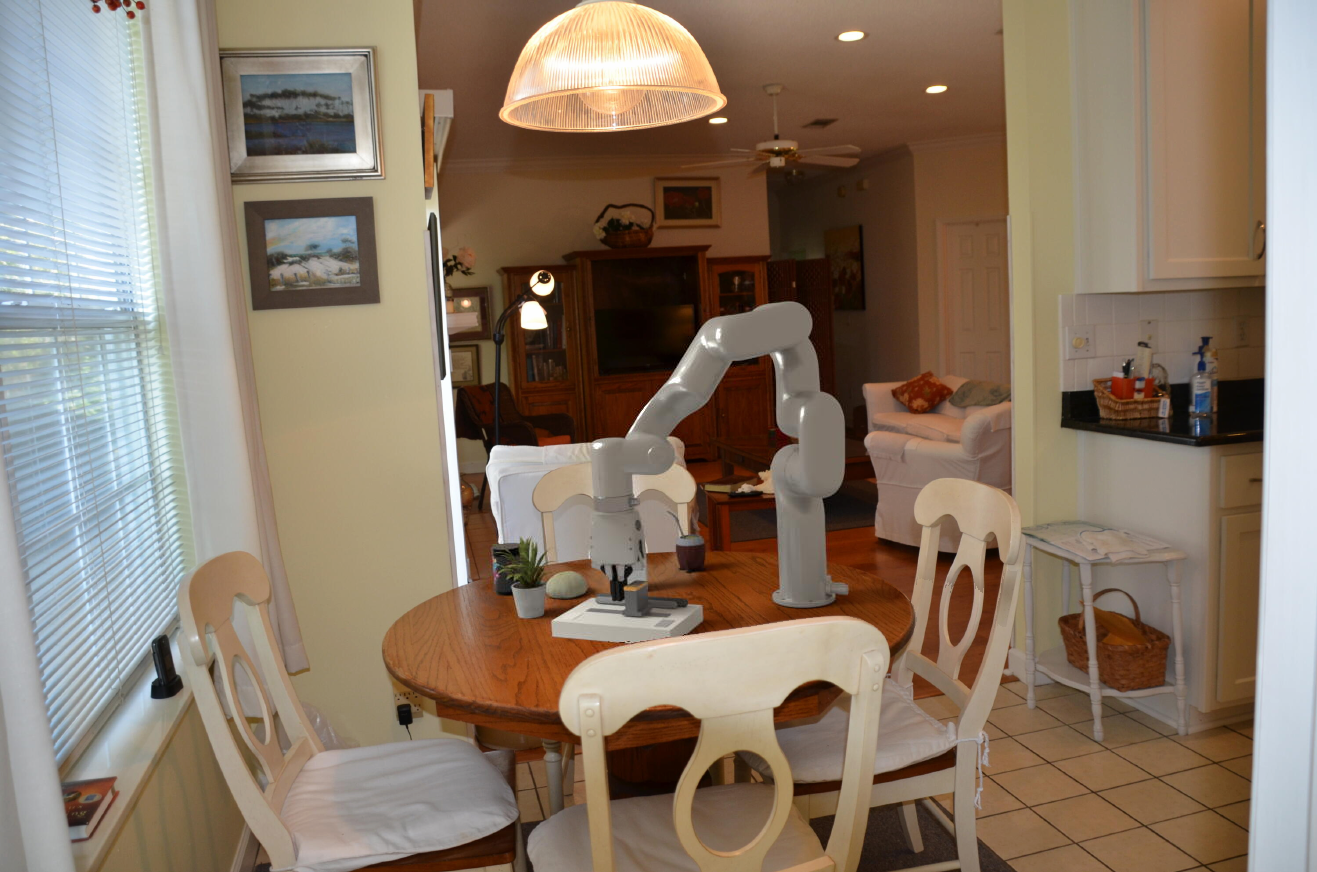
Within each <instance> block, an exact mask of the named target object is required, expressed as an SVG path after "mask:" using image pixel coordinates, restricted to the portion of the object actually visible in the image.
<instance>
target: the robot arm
mask: <svg viewBox="0 0 1317 872" xmlns="http://www.w3.org/2000/svg"><path fill="white" fill-rule="evenodd" d="M812 329H813V318H812V315H811V313H810V311H809V310H808V309H807V308H806V307H805V306H804V305H803V304H801V303H799V302H795V301H781V302H773V303H767V304H766V303H765V304H762V305H759V306H757V307H756V308H754V309H753V310H751V311H746V312H742V313H737V314H730V315H729V314H728V315H723V316H715V317H713V318H710V319H708V320H707V321H706V322H705V323H704V324H703V325H702V326H701V328H700V329H699V330H698V332H697V334H696V335H695V337H694V339H693V340H692V342H691V343H690V345H689V347H688V348H687V350H686V352H685V353H684V355H683V357H681V359H680V361H679V363H678V364H677V366H676V368H675V369H674V371H673V373H672V374H671V376H670V377H669V379H668V380H667V381H666V382H665V383H664V384H663V386H661V388H659V390H658V391H657V392H656V393H655V395H654V396H653V397H651V399H650V400H649V402H648V403H647V404H646V405H645V406H644V407H643V409H642V410H641V411H640V413H639V414H638V416H637V417H636V419H635V421H634V422H633V424H632V426H631V427H630V428H629V431H628V432H627V434H626V435H625V437H605V438H600V439H596V440H593V441H592V443H590V448H589V449H590V452H589V453H590V464H591V465H590V466H591V479H592V483H591V484H592V496H593V511H591V514H590V520H589V530H588V531H589V532H588V550H589V558H590V560H591V563H590V564H591V566H590V567H591V568H593V569H596V570H599V571H601V572H602V573H603V574H604V575H605V576H606V580H607V581H609V588H610V591H609V594H611V595H612V601H618V602H621V601H623V600H624V599H625V594H624V587H625V586H627V585H628V580H627V578H628V577H629V576H630V575H631V574H632V572H636V571H640V570H642V569H644V567H645V566H644V562H643V559H645V557H646V558H647V547H646V537H645V538H644V535H645V530H644V531H643V526H642V522H643V521H642V518H641V515H640V511H639V509H635V508H636V506H641V505H640V504H641V500H640V498H636V497H635V493H634V483H633V476H634V475H635V476H636V475H637V476H638V475H639V476H640V475H641V476H657V475H658V476H659V475H663V474H664V473H666V472H668V471H669V470H670V469H671V468H672V467H673V465H674V463H675V460H676V452H675V447H674V446H673V444H672V443H671V441H670V440H668V437H669V436H670V434H671V433H672V432H673V430H675V428H676V427H677V425H678V424H679V423H681V421H682V420H684V419H685V418H686V417H688V416H689V415H691V414H693V413H694V412H697V411H698V410H699V409H701V408H702V407H703V406H705V404H707V403H708V402H709V400H710V398H711V397H712V395H713V394H714V393H715V390H716V388H717V386H718V385H719V384H720V382H721V380H722V379H723V377H724V376H725V374H726V372H727V371H728V370H729V368H730V365H731V364H732V362H733V361H734V362H735V361H736V362H737V361H745V360H749V359H752V358H753V359H754V358H757V357H761V356H765V355H770V358H771V359H772V361H773V364H774V369H775V370H774V371H775V381H776V383H775V384H776V386H775V388H776V399H775V400H776V404H775V405H776V407H775V411H776V413H775V414H776V424H777V426H778V429H779V430H780V432H782V433H783V434H785V435H787V436H788V437H792V438H795V439H798V443H792V444H788V445H785V446H783V447H782V448H781V449H779V450H778V451H777V452H776V453H775V455H774V456H773V459H772V462H771V465H770V478H771V483H772V488H773V493H774V498H775V508H776V523H777V524H776V527H777V529H776V530H777V551H778V554H777V555H778V573H779V574H778V575H779V589H777V590H775V591H774V592H773V593H772V601H773V602H774V603H776V604H778V605H779V606H784V607H789V608H801V609H802V608H816V607H822V606H826V605H830V604H831V603H832V604H833V603H834V601H835V600H836V595H837V594H838V595H841V596H843V595H844V596H845V595H846V596H848V594H849V591H850V589H849V585H848V584H846V583H845V582H834V581H833V580H832V575H829V574H828V571H827V547H826V545H827V543H826V540H827V539H826V515H825V506H824V502H823V501H824V500H823V499H825V498H828V497H831V496H832V495H834V494H836V492H837V491H838V490H839V488H841V486H842V484H843V480H844V477H845V468H846V467H845V466H846V438H845V437H846V429H845V428H846V426H845V425H846V423H845V422H846V421H845V415H844V412H843V409H842V407H841V404H840V403H839V401H838V400H837V399H836V398H835V397H834V396H833V395H831V394H829V393H828V392H824V391H821V385H820V384H821V382H820V369H819V361H818V356H817V353H816V350H815V347H814V345H813V343H812V341H811V340H810V339H809V337H810V334H811V332H812Z"/></svg>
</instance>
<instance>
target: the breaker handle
mask: <svg viewBox="0 0 1317 872" xmlns="http://www.w3.org/2000/svg"><path fill="white" fill-rule="evenodd" d="M624 594H625V609H624V610H622V615H626V616H639V617H642V616H643V615H645V614H646V613H647V612H649V611H650V610H652V605H648V596H649V593H648V589H647V581H640V580H635V581H633V582H632V583H630V584H628V585H627V586H625V587H624Z"/></svg>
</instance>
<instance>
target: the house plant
mask: <svg viewBox="0 0 1317 872" xmlns="http://www.w3.org/2000/svg"><path fill="white" fill-rule="evenodd" d="M532 538H533V536H531V537H530V536H529V537H527V538H526V540H524V539H523V537H522V536H519V543H520V544H519V554H520V559H521V562H522V563H520V564H519V563H518V562H517V560H516V559H515V558H514V556H513V555H512V554H511V553H510V552H509V550H508V549H506V548H505V547H503V546H501V545H499V546H501V547H503V548H505V549H506V551H508V552H509V553H510V554H511V555H509V554H506V553H504V554H506V555H508V556H509V557H511V558H512V559H513V560H514V561H515V562H516V563H517V565H516V564H515V563H514V561H513V560H512V559H511V558H509V557H508V556H505V555H501V556H505V557H507V558H508V559H509V560H510V561H511V562H512V563H513V564H514V565H509V566H505V567H504V566H502V565H499V566H502V567H503V568H505V569H502V570H501V571H499V572H498V573H500V572H502V571H505V570H507V571H508V572H509V573H510V574H511V575H508V577H507V579H508V578H510V577H512V576H514V581H515V580H516V579H517V580H518V581H519V582H518V583H515V584H513V585H512V586H511V587H512V591H513V595H512V596H513V598H514V604H515V607H516V612H517V615H518V617H519V618H520V619H533V618H534V619H535V618H539V617H541V616H544V614H545V606H546V605H545V604H546V594H547V593H546V585H547V582H546V581H544V580H542V579H543V578H544V576H546V575H547V574H553V571H550V572H545V573H544V571H545V568H544V566H546V565H547V564H548V563H552V562H555V563H556V561H554V560H550V561H546V562H544V563H543V564H542V562H543V560H544V558H545V556H546V554H547V553H548V552H549V551H550V550H551V546H549V547H548V549H547V550H546V551H545V552H543V553H542V555H541V556H540V557H539V558H538V560H537V556H538V551H539V549H538V542H535V543H534V540H533V539H532ZM494 545H497V544H495V543H494V544H492V546H494ZM505 549H504V550H505ZM552 549H554V547H552ZM495 553H501V552H495ZM541 564H542V565H541ZM506 567H507V568H516V569H517V570H518V572H519V573H520V574H518V573H516V572H515V571H514V570H511V569H507V568H506ZM519 569H521V571H522V573H523V574H522V573H521V572H520V570H519ZM509 570H511V571H514V572H515V573H516V574H514V573H512V572H510V571H509Z"/></svg>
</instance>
